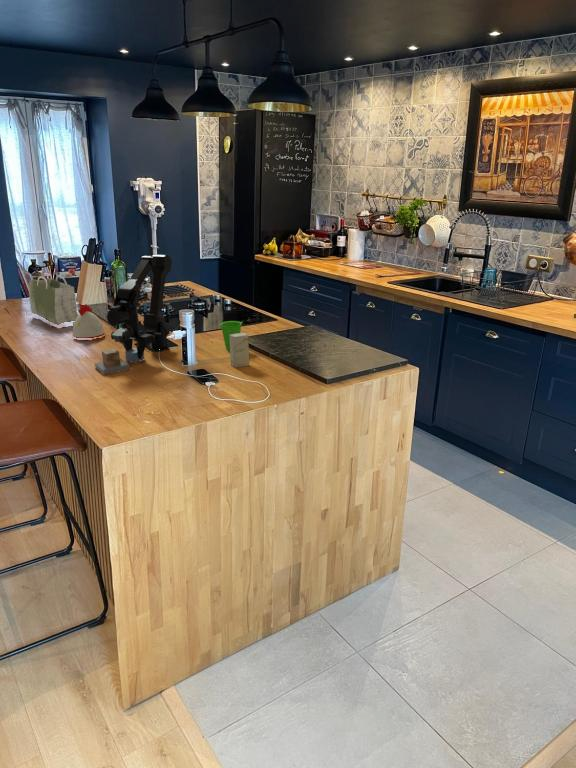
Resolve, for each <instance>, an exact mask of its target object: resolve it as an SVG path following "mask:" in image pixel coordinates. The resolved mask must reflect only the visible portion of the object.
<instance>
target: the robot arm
mask: <svg viewBox="0 0 576 768" xmlns="http://www.w3.org/2000/svg"><path fill="white" fill-rule="evenodd" d="M172 262H173V260H172V258H171V257H170V255H169V254H156V253H155V254H153V255H143V256H141V258H140V261H139V264H137V266H136V268H135V270H134V272H133V273H132V274H131V276H130V278H129V279H128V280H127V281H125V282H124V283H121V285H120V287H119V288H118V289H117V292H116V295H115V298H114V301H113V305H112V306H111V307H109V310H110V311H108V312H107V314H106V319H107V322H108V323H109V325H111V326H113V327H114V326H118V325H120V328H118V329H116V330H114V331H112V332H111V333H110V337H111V340H114V342H115V343H119V344H122V346H123V347H124V350H125V351H128V350H131V349H133V345H134V346H135V348H136V349H137V353H138V358H139V359H141V358H142V355H143V353H144V354H145V350H146V347H147V346H149V347H150V348H151V349H150V348H149V349H150V350H152V351H153V352H159V351H158V350H159V349H161V350H160V351H164V349H165V350H168V349H170V347H169V346H168V338H167V337H168V336H169V335H170V332H171V328H169V326H168V325H167V324H166V317H165V316H164V314H163V305H164V304H163V303H164V294H165V285H166V277H167V276H168V274H169V273H170V272H171V268H172V264H173V263H172ZM150 272H151V273H152V283H151V292H150V293H151V294H150V304H149V310H148V311H147V313H144V315H143V321H141V320H139V313H138V311H139V310H138V307H140V306H141V304H140V303H139V302H138V300H139V299H140V295H141V293H142V292H141V287H142V285H143V284H144V282H145V281H146V279H147V277H148V276H149V273H150ZM141 324H143V330H144V332H145V334H143V331H142V330H140V325H141ZM135 340H136V343H133V341H135Z"/></svg>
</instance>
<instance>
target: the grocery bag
mask: <svg viewBox="0 0 576 768" xmlns="http://www.w3.org/2000/svg"><path fill="white" fill-rule="evenodd" d="M58 278H61V279H62V280H63V282H64V283H63V282H60V281H59V280H58ZM40 279H41V280H40ZM28 284H29V285H28V294H29V295H28V297H29V305H30V311H31V314H32V313H34V314H37V315H39V316H41V317H43V318H45V319H46V320H48V321H49V322H52V323H54V324H57V325H59V324H61V323H64V322H71V321H75V320H76V318H77V317H78V316H79V314H78V313H79V312H77V311H78V308H77V300H76V299H77V297H76V292H75V291H76V289H75V286H72V285H71V284H68V283H67V281H66V279H65V277H63V275H59V274H57V275H56V276H55V279H54V278H49V277H48V278H46V277H45V276H42V275H40V276H38V278H37V279H30V278H29V283H28Z"/></svg>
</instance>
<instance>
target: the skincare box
mask: <svg viewBox="0 0 576 768" xmlns="http://www.w3.org/2000/svg"><path fill="white" fill-rule="evenodd" d="M229 337H230V351H229V353H230V354H229V355H230V356H229V358H230V365H231V366H232V367H233V368H241V367H248V366H250V355H249V352H250V350H249V349H250V347H249V334H248V333H245V332H240V333H237V334H230V335H229Z"/></svg>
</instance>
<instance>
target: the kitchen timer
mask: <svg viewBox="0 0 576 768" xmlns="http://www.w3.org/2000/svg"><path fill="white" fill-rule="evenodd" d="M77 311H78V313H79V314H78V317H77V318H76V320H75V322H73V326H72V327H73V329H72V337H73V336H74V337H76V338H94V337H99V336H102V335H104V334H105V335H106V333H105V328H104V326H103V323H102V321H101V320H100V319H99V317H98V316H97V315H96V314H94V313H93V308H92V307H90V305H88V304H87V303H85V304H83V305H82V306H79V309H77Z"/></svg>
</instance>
